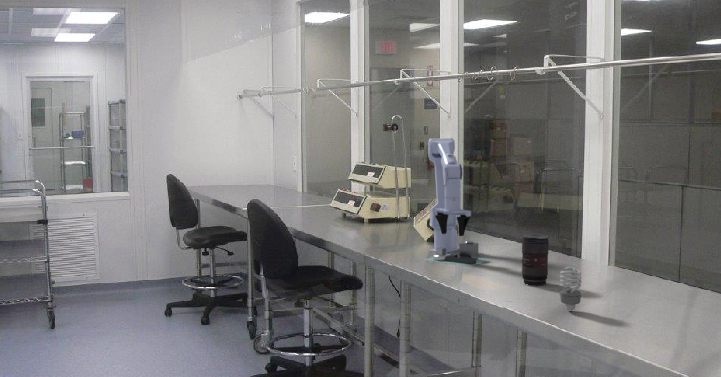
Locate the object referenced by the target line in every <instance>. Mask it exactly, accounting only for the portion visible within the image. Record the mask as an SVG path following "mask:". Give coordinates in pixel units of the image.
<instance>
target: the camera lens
mask: <svg viewBox="0 0 721 377" xmlns="http://www.w3.org/2000/svg"><path fill="white" fill-rule="evenodd" d="M549 241H550V240H549V236H546V235H541V234H525V235H523V236H522V239H521V254H522V258H521V263H522V266H521V278H522V279H523V284H524V283H525V284H524V285H526V284H528V285H527V286H530V285H536V286H535V287H537V286H538V285H541V286H544V285H546V283H547V279H548V274H549V273H548V272H549V262H548V261H549V260H548V259H549V250H550V249H549V245H550V242H549ZM538 287H539V286H538Z"/></svg>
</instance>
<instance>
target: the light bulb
mask: <svg viewBox="0 0 721 377" xmlns="http://www.w3.org/2000/svg"><path fill="white" fill-rule="evenodd" d="M560 274H561V275H559V278H560V279H559V282H560V284H559V285H560V286H561V287H564V288H566V289H562V290H560V292H559V293H560V294H559V296H560V302H561V304H563V305H565V309H566V310H567V311H569V310H572V311H574V310H575V309H576V305H578V304H580V303H581V298H582V293H581V291H579V289H580V288H581V286H582V284H581V283H582V282H583V281H582V279H583V278H582V277H583V276H582V271H581V270H580V269H577V268H575V267H574V266H566V267H565V270H561V271H560ZM571 287H573V288H571Z"/></svg>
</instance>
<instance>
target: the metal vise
mask: <svg viewBox="0 0 721 377" xmlns="http://www.w3.org/2000/svg"><path fill="white" fill-rule="evenodd" d="M448 254H449V253H446V248H442V247H440V248H436V253H434V254H433V255H432V257H433V260H435V261H449V262H457V263H464V264H471V265H472V264H476V258H470V257H462V256H458V255H459V254H456V253H451V255H448ZM476 265H477V264H476Z"/></svg>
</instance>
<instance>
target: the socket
mask: <svg viewBox="0 0 721 377" xmlns="http://www.w3.org/2000/svg"><path fill="white" fill-rule="evenodd" d="M458 248H459V252H458V253H459V254H458V255H459V256H462V257H470V258H476V260H477V259H478V258H479V242H474V241H473V240H465V241H464V242H459V244H458Z"/></svg>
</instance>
